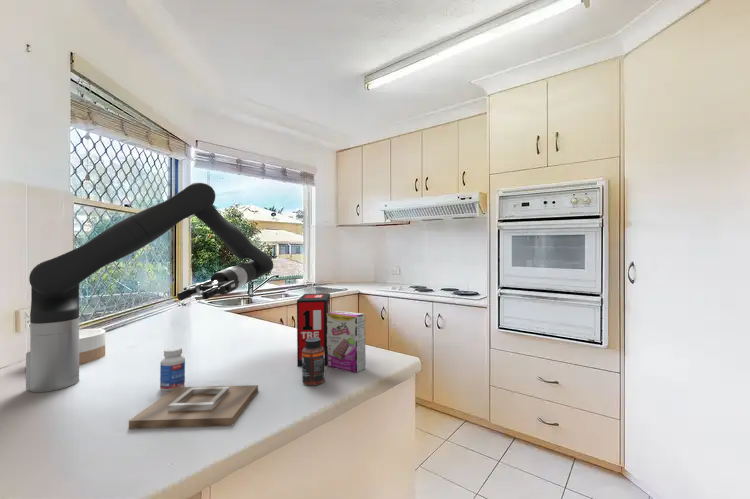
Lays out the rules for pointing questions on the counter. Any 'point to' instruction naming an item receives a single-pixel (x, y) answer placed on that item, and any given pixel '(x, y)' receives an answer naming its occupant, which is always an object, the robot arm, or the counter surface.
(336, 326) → the candy bar box
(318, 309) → the cleaning product box
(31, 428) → the counter surface
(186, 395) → the walnut board
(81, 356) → the bowl
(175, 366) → the pill bottle
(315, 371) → the supplement bottle
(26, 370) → the robot arm
